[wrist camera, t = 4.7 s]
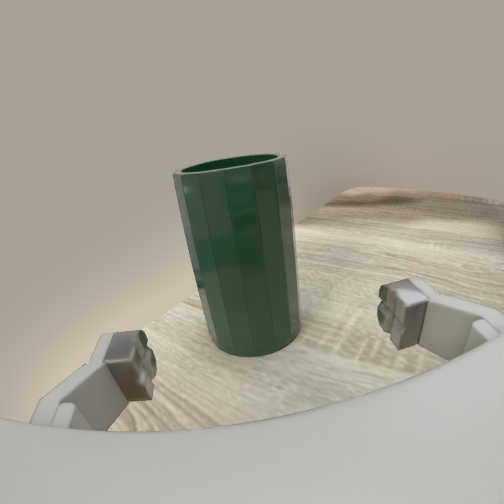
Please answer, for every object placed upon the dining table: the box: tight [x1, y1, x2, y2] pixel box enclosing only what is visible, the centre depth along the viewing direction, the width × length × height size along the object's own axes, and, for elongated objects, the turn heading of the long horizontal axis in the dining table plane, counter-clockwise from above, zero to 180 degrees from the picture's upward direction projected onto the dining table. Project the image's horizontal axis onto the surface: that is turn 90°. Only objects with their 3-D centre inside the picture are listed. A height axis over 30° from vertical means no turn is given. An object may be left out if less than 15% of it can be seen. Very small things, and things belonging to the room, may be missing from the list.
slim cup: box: [173, 153, 301, 356], centre depth 20 cm, size 7×7×12 cm
